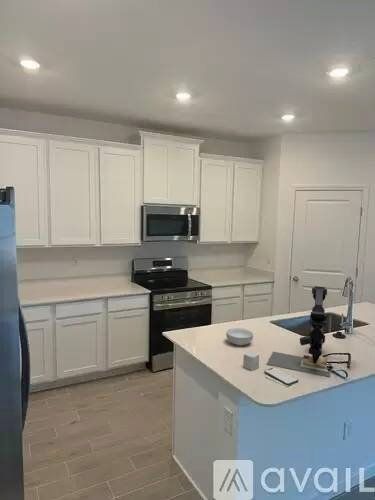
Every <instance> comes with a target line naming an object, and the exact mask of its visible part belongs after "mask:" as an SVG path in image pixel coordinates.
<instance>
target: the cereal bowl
mask: <svg viewBox="0 0 375 500" xmlns="http://www.w3.org/2000/svg"><path fill="white" fill-rule="evenodd" d="M225 334H226V339H227V341H228V342H230V343H231V344H234V345H235V344H236V346H245V345H248V344H251V342H252V341H253V339H254V333H253V331H252V330H249V329H245V328H241V327H240V328H238V327H237V328H236V327H235V328H228V329H227V330H226V332H225Z"/></svg>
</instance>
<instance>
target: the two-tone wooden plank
mask: <svg viewBox="0 0 375 500" xmlns="http://www.w3.org/2000/svg"><path fill="white" fill-rule="evenodd" d="M302 357H303V363H306V364H311V365H317V366H322V367H327V361H328V359H327V358H321V357H319V359H318V360H317V362H316V364H315V363H313V357H312V355H307V354H303V356H302Z"/></svg>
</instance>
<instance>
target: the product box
mask: <svg viewBox="0 0 375 500" xmlns="http://www.w3.org/2000/svg"><path fill="white" fill-rule="evenodd" d="M242 363H243V366H242V367H243V368H245V369H247V370H250V371H255V370H257V369H258V368H260V354H259V353H256V352H253V351H248V352H245V353H244V354H243V362H242Z"/></svg>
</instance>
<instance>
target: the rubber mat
mask: <svg viewBox="0 0 375 500" xmlns="http://www.w3.org/2000/svg"><path fill="white" fill-rule="evenodd" d="M327 362H329V361H328V360H327ZM266 365H267V366H269V367H270V366H271V367H275V368H280V369H287V370H291V371H296V372H301V373H306V374H309V375H310V374H311V375H315V376H322V377H326V378H327V377H328V378H331V371H328V370H327V369H325V368H323V367H322V366H317V365H311V364H306V363H303V356H300V355H295V354H290V353H282V352H278V351H272V353H271V355H270V357H269V358H268V361H267V363H266ZM327 366H332V362H331V363H328V364H327Z"/></svg>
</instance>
